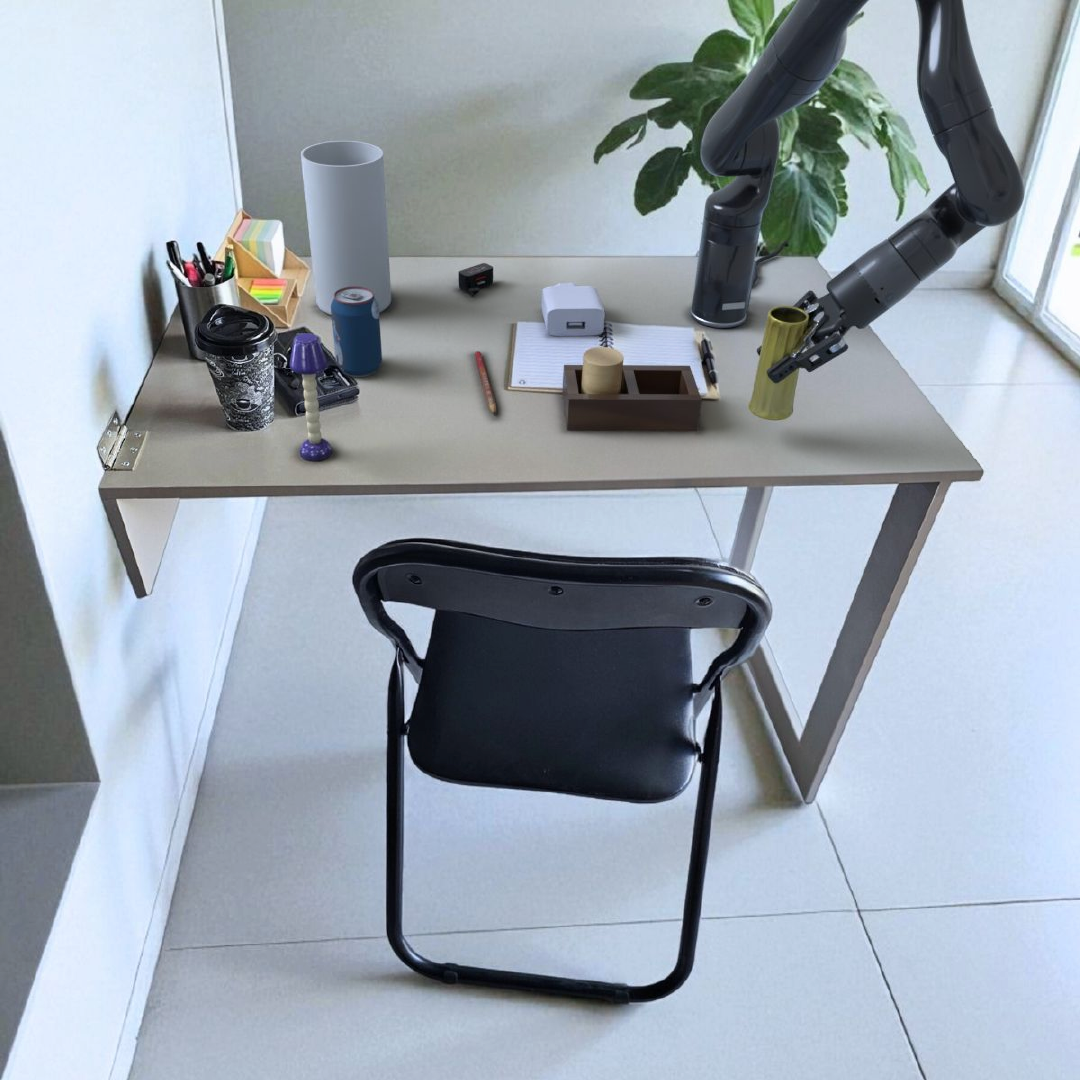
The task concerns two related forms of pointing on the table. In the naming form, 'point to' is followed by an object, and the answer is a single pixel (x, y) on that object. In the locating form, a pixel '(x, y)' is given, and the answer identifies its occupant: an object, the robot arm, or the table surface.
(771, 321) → the vase
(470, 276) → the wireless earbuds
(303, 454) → the toy lamp
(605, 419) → the rack
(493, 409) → the pencil
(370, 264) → the cylinder vase
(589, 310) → the charger
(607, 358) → the peg
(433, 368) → the table surface
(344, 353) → the soda can
